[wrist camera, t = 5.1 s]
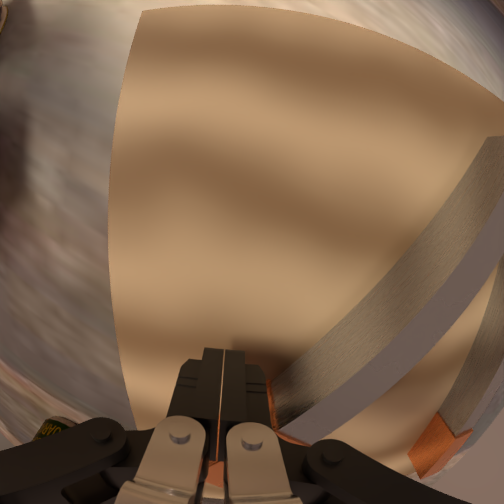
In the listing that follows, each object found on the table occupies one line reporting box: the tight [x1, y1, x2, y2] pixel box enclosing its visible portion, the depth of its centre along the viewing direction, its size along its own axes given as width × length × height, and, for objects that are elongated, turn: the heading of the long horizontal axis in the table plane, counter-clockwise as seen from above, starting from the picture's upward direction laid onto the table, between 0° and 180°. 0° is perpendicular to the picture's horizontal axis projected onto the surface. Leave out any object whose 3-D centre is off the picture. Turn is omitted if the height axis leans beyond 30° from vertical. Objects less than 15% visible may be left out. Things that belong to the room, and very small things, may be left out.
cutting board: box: [108, 5, 504, 499], centre depth 12 cm, size 30×24×2 cm
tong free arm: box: [206, 136, 504, 488], centre depth 8 cm, size 23×4×3 cm, turn 137°
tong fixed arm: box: [407, 254, 504, 479], centre depth 10 cm, size 18×2×3 cm, turn 175°
